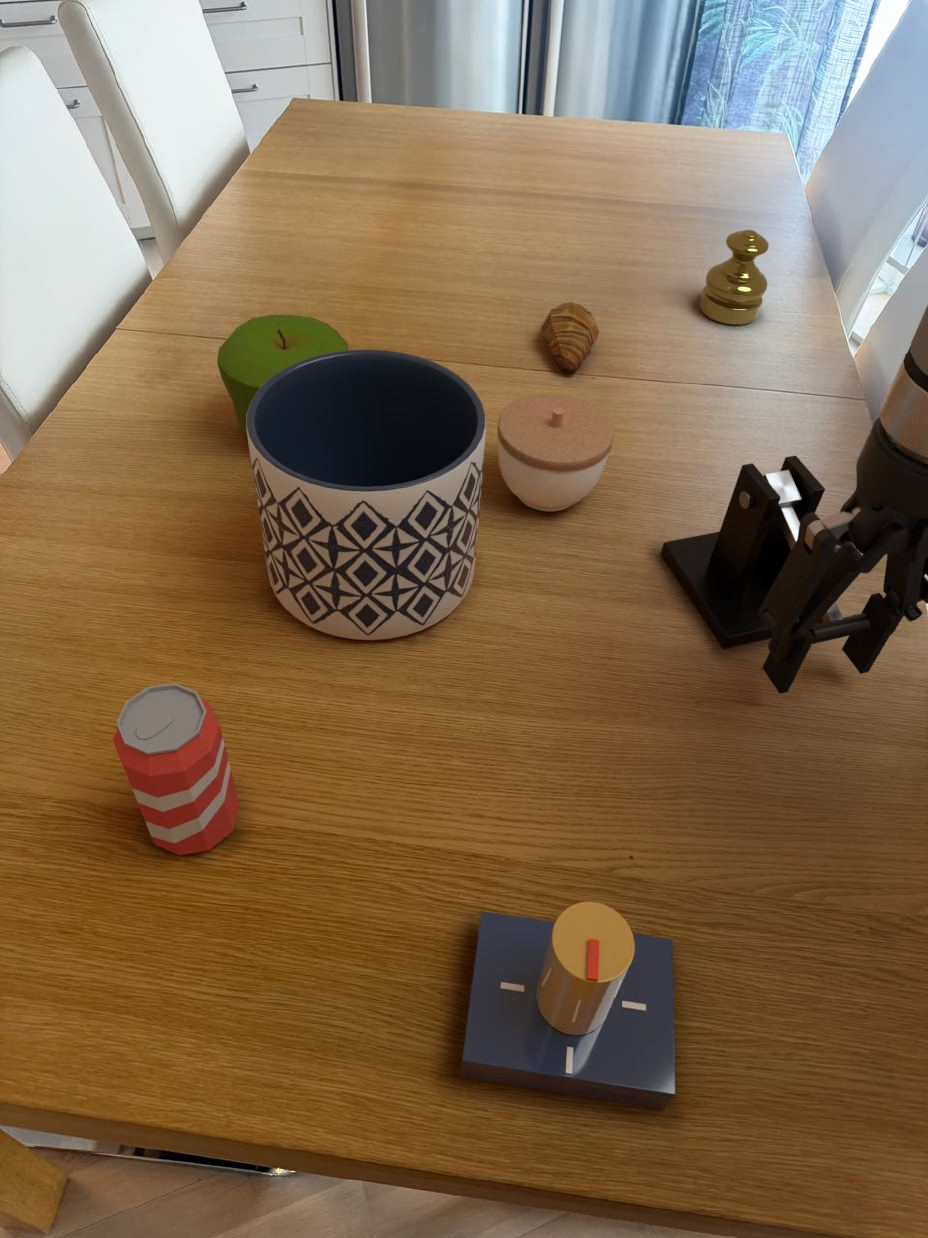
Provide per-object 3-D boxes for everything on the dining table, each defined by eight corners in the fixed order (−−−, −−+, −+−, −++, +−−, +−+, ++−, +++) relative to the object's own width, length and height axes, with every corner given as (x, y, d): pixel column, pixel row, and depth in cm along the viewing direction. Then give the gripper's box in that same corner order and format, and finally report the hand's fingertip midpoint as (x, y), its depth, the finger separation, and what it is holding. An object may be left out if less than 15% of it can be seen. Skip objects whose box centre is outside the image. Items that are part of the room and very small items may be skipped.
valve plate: (662, 958, 60) (673, 938, 57) (664, 1110, 54) (676, 1094, 51) (478, 930, 60) (481, 909, 58) (459, 1077, 54) (462, 1060, 52)
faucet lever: (860, 636, 72) (877, 624, 70) (804, 649, 71) (820, 637, 69) (789, 482, 77) (803, 466, 75) (736, 491, 76) (749, 476, 74)
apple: (260, 480, 90) (246, 379, 81) (211, 414, 96) (193, 315, 88) (374, 442, 95) (371, 343, 86) (319, 381, 101) (312, 284, 93)
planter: (298, 669, 74) (278, 514, 62) (247, 524, 85) (222, 369, 73) (506, 614, 79) (525, 461, 67) (432, 484, 90) (437, 333, 78)
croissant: (540, 314, 113) (545, 275, 110) (595, 319, 113) (602, 280, 109) (537, 375, 104) (541, 336, 100) (597, 381, 104) (604, 341, 100)
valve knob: (538, 955, 56) (555, 893, 50) (610, 966, 56) (636, 905, 50) (532, 1029, 53) (549, 973, 47) (608, 1041, 53) (635, 986, 47)
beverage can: (129, 821, 64) (86, 719, 56) (204, 765, 68) (174, 660, 59) (183, 877, 62) (147, 779, 53) (258, 816, 65) (236, 714, 56)
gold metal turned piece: (746, 295, 119) (769, 218, 112) (766, 325, 114) (791, 247, 107) (691, 296, 118) (710, 218, 111) (709, 327, 113) (730, 248, 106)
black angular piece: (824, 626, 80) (881, 514, 71) (722, 649, 78) (767, 537, 68) (754, 535, 88) (797, 423, 78) (660, 553, 85) (692, 441, 76)
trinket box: (597, 535, 87) (613, 455, 80) (484, 518, 88) (491, 437, 81) (604, 465, 94) (621, 386, 87) (500, 450, 95) (508, 370, 88)
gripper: (835, 500, 53) (729, 734, 70) (1107, 448, 57) (946, 679, 74) (768, 423, 57) (684, 660, 74) (1024, 381, 62) (890, 613, 79)
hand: (815, 669), depth 74 cm, fingers open, 7 cm apart
